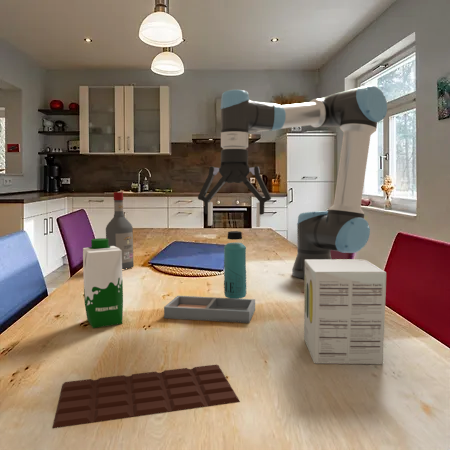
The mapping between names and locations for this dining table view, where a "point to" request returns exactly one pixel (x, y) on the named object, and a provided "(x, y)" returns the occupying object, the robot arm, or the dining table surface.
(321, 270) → the supplement box
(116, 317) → the milk carton
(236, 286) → the beverage bottle
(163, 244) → the dining table surface
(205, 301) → the tray
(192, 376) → the chocolate bar
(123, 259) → the liquor
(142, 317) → the dining table surface
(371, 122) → the robot arm
